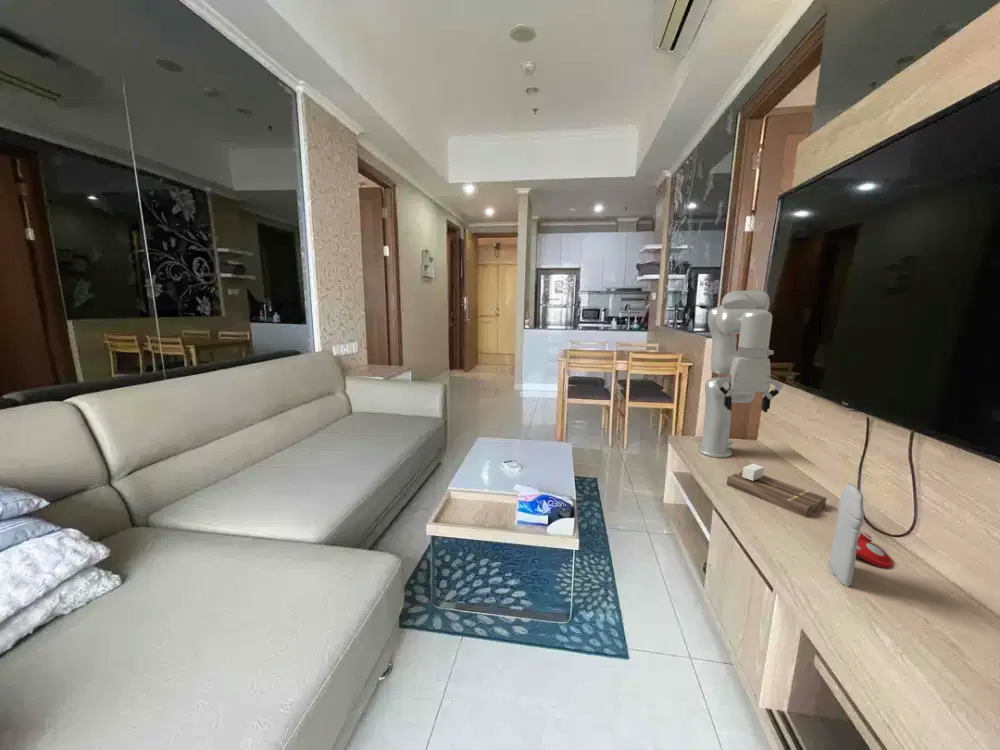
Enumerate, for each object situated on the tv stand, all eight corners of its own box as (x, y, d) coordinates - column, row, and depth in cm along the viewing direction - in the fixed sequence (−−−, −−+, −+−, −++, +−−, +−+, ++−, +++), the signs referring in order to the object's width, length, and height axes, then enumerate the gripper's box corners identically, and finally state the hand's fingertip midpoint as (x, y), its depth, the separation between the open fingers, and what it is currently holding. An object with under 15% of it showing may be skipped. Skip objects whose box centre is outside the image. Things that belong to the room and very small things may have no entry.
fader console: (746, 477, 145) (747, 469, 145) (825, 506, 125) (826, 497, 124) (726, 484, 139) (727, 476, 139) (806, 517, 119) (807, 507, 118)
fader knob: (751, 477, 141) (753, 463, 140) (762, 481, 138) (764, 467, 137) (741, 481, 138) (743, 467, 137) (752, 485, 135) (754, 471, 134)
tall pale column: (821, 558, 101) (835, 476, 96) (841, 562, 99) (856, 479, 95) (836, 585, 91) (852, 496, 87) (859, 590, 90) (877, 499, 85)
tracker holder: (905, 567, 96) (863, 556, 96) (894, 579, 98) (852, 568, 98) (871, 528, 107) (833, 518, 107) (861, 540, 109) (824, 530, 109)
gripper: (782, 352, 119) (774, 408, 122) (716, 350, 124) (711, 404, 127) (791, 356, 112) (783, 415, 115) (722, 354, 117) (716, 411, 120)
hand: (745, 409), depth 121 cm, fingers open, 9 cm apart
